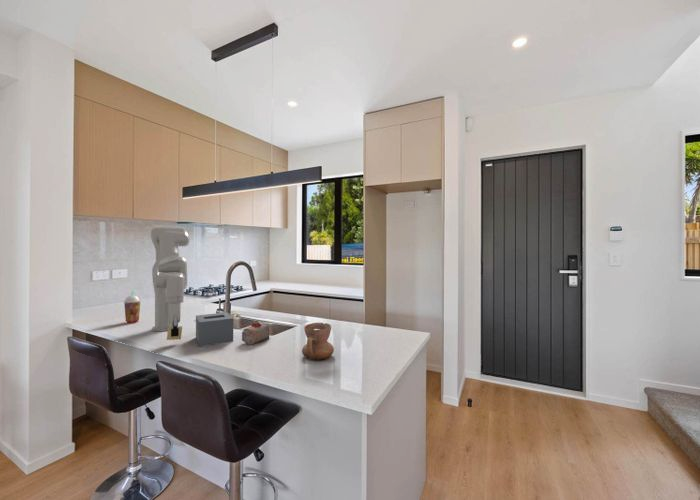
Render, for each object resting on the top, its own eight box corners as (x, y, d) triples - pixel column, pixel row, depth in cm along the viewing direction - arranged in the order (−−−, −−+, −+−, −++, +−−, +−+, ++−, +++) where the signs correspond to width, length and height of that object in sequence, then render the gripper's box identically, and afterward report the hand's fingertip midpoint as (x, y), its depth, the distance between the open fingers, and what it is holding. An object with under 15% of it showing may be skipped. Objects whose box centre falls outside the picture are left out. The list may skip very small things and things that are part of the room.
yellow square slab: (166, 338, 150) (168, 326, 150) (180, 338, 153) (181, 326, 153) (166, 339, 148) (168, 327, 148) (180, 339, 151) (182, 327, 151)
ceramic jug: (313, 348, 147) (312, 319, 147) (340, 352, 142) (339, 322, 141) (293, 362, 131) (292, 330, 130) (322, 367, 125) (322, 333, 125)
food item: (251, 346, 149) (252, 326, 149) (240, 343, 153) (240, 324, 152) (270, 339, 161) (271, 320, 161) (259, 336, 165) (259, 318, 164)
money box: (195, 337, 161) (195, 315, 161) (227, 333, 170) (227, 312, 170) (199, 346, 148) (199, 322, 148) (233, 341, 156) (233, 318, 156)
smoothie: (120, 323, 187) (120, 291, 186) (132, 320, 195) (132, 289, 194) (132, 324, 185) (132, 292, 185) (143, 321, 193) (143, 290, 193)
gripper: (165, 297, 154) (165, 332, 155) (166, 303, 141) (166, 341, 142) (182, 295, 158) (182, 330, 159) (184, 301, 145) (184, 339, 146)
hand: (174, 335), depth 150 cm, fingers closed on yellow square slab, 1 cm apart
